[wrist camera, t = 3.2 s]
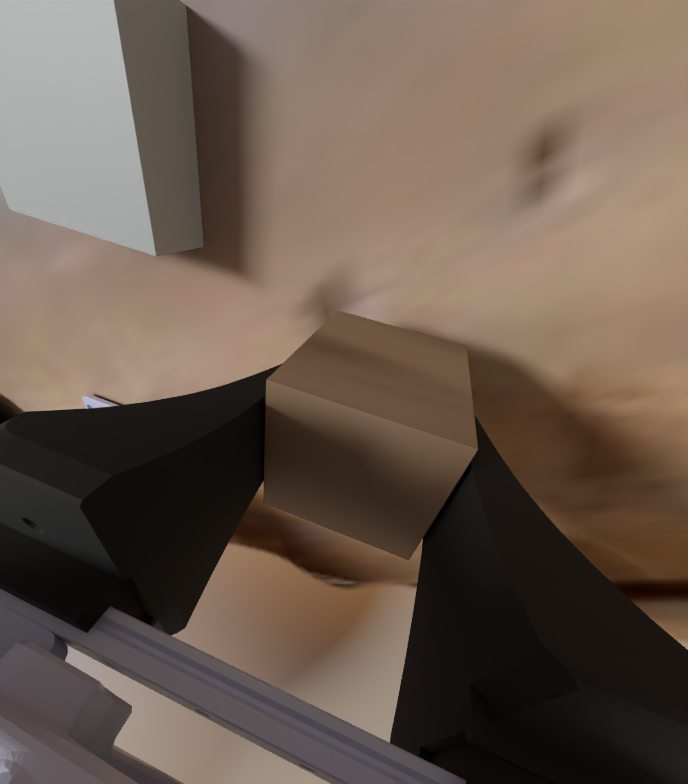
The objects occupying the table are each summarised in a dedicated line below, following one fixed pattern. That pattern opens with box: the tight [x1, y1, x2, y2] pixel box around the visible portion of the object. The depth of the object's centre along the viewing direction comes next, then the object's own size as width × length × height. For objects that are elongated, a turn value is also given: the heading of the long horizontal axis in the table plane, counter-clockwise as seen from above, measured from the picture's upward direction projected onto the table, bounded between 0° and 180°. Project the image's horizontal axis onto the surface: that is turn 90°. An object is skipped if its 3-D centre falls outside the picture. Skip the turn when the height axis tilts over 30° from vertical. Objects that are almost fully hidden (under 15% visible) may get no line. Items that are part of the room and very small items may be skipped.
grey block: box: [0, 0, 204, 256], centre depth 11 cm, size 7×7×3 cm
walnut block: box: [263, 311, 478, 560], centre depth 9 cm, size 4×4×5 cm
